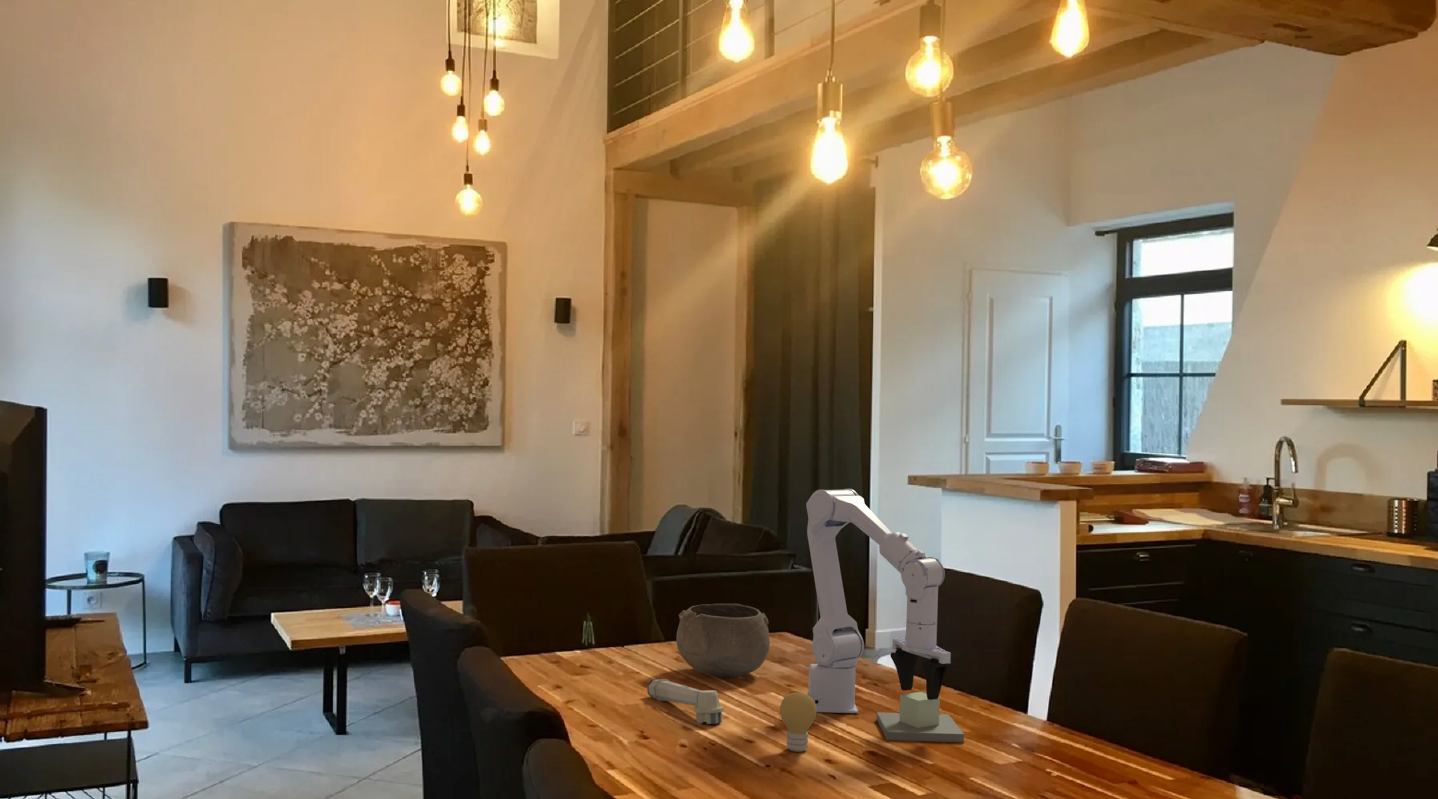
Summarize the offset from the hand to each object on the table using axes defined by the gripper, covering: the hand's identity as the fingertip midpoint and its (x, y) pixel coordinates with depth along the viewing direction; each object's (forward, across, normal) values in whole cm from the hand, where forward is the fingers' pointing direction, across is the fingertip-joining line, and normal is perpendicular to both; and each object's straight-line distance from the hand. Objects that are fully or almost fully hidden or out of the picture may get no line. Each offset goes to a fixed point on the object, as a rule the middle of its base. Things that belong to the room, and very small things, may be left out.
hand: (919, 694), depth 216 cm
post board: (+7, 0, 0) cm, 7 cm away
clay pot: (+7, -56, -10) cm, 57 cm away
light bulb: (+7, +1, -28) cm, 29 cm away
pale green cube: (+5, 0, 0) cm, 5 cm away
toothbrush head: (+8, -31, -33) cm, 46 cm away
